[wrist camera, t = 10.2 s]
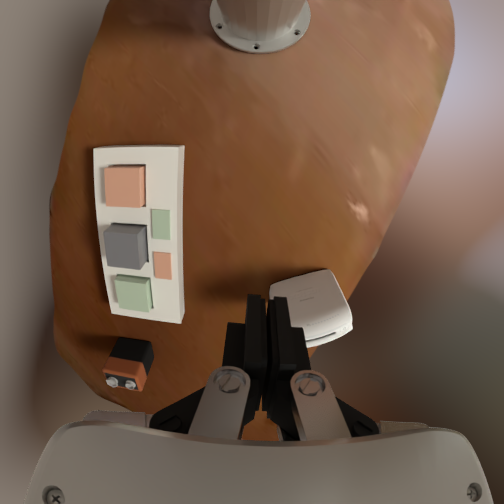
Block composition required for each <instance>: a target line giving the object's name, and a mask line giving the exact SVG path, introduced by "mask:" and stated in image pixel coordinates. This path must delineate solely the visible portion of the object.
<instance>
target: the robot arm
mask: <svg viewBox="0 0 504 504" xmlns="http://www.w3.org/2000/svg"><path fill="white" fill-rule="evenodd" d="M310 15H311V13H310V7H309V4H308V2H307V0H212V2H211V6H210V13H209V17H210V21H211V25H212V27H213V29H214V31H215V32H216V34H217V35H218V37H219V38H220V39H221V40H222V41H223V42H225V43H226V44H228V45H229V46H231V47H233V48H235V49H237V50H240V51H244V52H247V53H255V54H268V53H274V52H278V51H281V50H284V49H287V48H288V47H290V46H292V45H294V44H295V43H296V42H297V41H298V40H300V39H301V37H302V36H303V35H304V34H305V32H306V30H307V28H308V26H309V23H310ZM219 27H222V28H221V29H218V28H219ZM294 33H298V35H295V34H294ZM254 47H258V49H254ZM261 395H262V411H267V418H270V420H272V421H273V422H274V423H275V424H277V433H278V437H279V441H252V440H241V438H242V434H243V430H244V426H245V425H246V424H247V423H249V422H250V421H252V420H253V419H254V416H255V411H258V410H259V405H260V400H261ZM23 504H493V500H492V497H491V493H490V490H489V487H488V483H487V480H486V477H485V475H484V472H483V470H482V467H481V465H480V462H479V460H478V458H477V455H476V454H475V452H474V450H473V448H472V446H471V445H470V443H469V441H468V440H467V439H466V437H465V436H464V435H462V434H460V433H459V432H456V431H454V430H450V429H443V428H429V427H428V426H427V425H425V424H423V423H408V422H388V421H380V423H375V422H374V421H373V420H372V419H370V418H369V417H367V416H366V415H364V414H362V413H361V412H359V411H357V410H356V409H354V408H353V407H351V406H349V405H348V404H346V403H345V402H343V401H341V400H340V399H338V398H337V397H335V396H334V393H333V391H332V389H331V386H330V384H329V382H328V380H327V379H326V377H325V376H323V375H322V374H320V373H319V372H316V371H312V370H311V367H310V361H309V356H308V351H307V345H306V340H305V335H304V330H303V328H302V327H291V321H290V314H289V308H288V302H287V297H279V296H274V298H273V299H269V301H268V307H267V314H266V306H265V299H261V296H260V295H253V294H248V298H247V308H246V318H245V324H242V323H231V322H228V325H227V332H226V340H225V347H224V355H223V363H222V367H220V368H218V369H216V370H214V371H213V372H212V373H211V375H210V376H209V379H208V382H207V384H206V386H205V387H203V388H202V389H200V390H198V391H196V392H194V393H192V394H191V395H189V396H187V397H185V398H183V399H181V400H179V401H177V402H175V403H174V404H172V405H170V406H168V407H166V408H164V409H162V410H160V411H158V412H157V413H155V414H154V415H146V414H145V412H115V411H100V410H98V411H92V412H90V413H88V414H87V415H86V416H85V417H84V419H83V421H78V422H73V423H69V424H66V425H64V426H62V427H61V428H59V429H58V430H57V431H56V432H55V434H54V435H53V436H52V437H51V439H50V440H49V442H48V443H47V445H46V447H45V449H44V451H43V453H42V455H41V457H40V459H39V461H38V464H37V466H36V468H35V471H34V473H33V476H32V479H31V481H30V484H29V488H28V491H27V493H26V497H25V500H24V503H23Z"/></svg>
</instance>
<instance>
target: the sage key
mask: <svg viewBox="0 0 504 504" xmlns="http://www.w3.org/2000/svg"><path fill="white" fill-rule="evenodd" d="M114 281H115V287H116V293H117V298H118V304H119V308H122V309H128V310H134V311H141V312H148V313H149V312H150V310H151V308H152V306H153V298H152V289H151V279H150V277H141V276H133V275H125V274H119V275H118V276H117V277H116V279H115V280H114Z"/></svg>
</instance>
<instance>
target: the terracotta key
mask: <svg viewBox="0 0 504 504" xmlns="http://www.w3.org/2000/svg"><path fill="white" fill-rule="evenodd" d="M104 175H105V197H106V206H110V207H132V208H141V207H142V206H143V205H144V204H146V164H115V165H112V166H110V167H107V168H104Z"/></svg>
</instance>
